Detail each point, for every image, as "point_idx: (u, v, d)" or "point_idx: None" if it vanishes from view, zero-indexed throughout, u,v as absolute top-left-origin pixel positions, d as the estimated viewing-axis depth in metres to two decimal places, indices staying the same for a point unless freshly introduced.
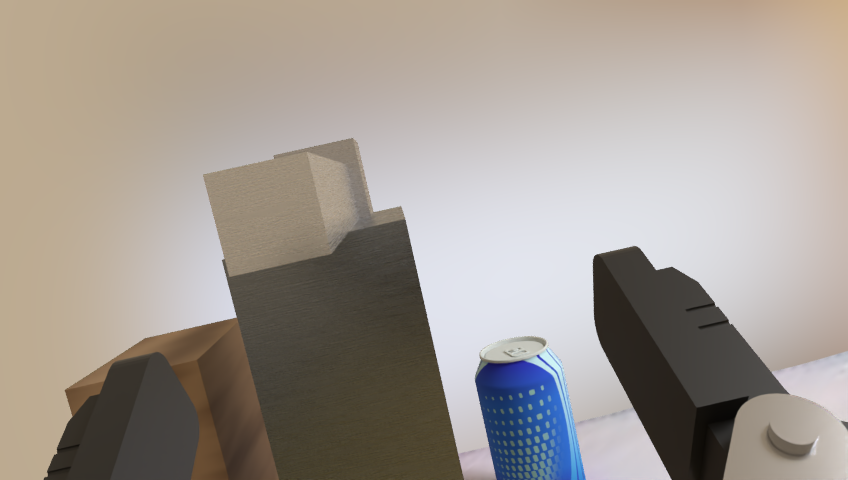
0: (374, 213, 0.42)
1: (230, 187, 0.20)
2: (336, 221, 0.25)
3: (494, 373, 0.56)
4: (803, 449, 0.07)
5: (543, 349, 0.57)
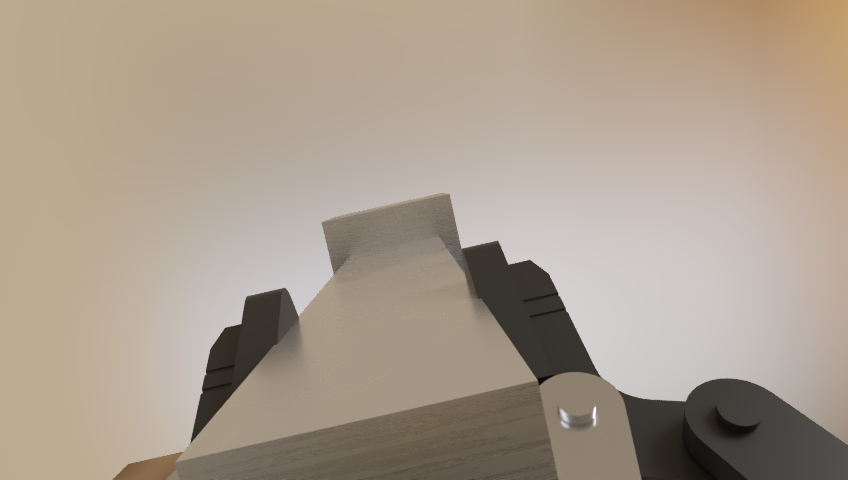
0: None
1: None
2: None
3: None
4: (580, 419, 0.08)
5: None
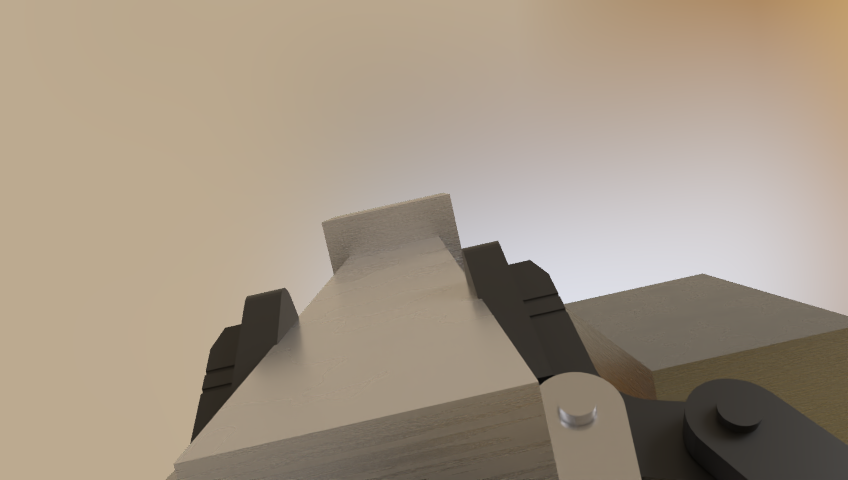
0: (687, 284, 0.37)
1: None
2: None
3: None
4: (580, 420, 0.08)
5: None
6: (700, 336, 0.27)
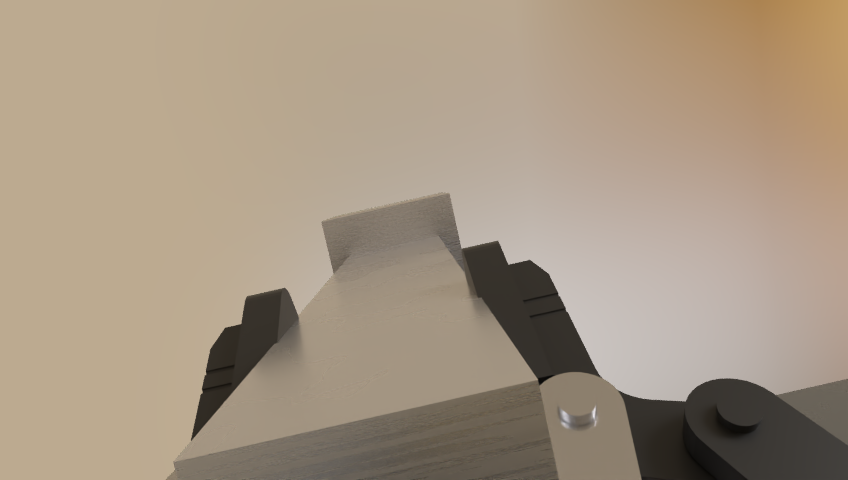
0: None
1: None
2: None
3: None
4: (580, 420, 0.08)
5: None
6: None
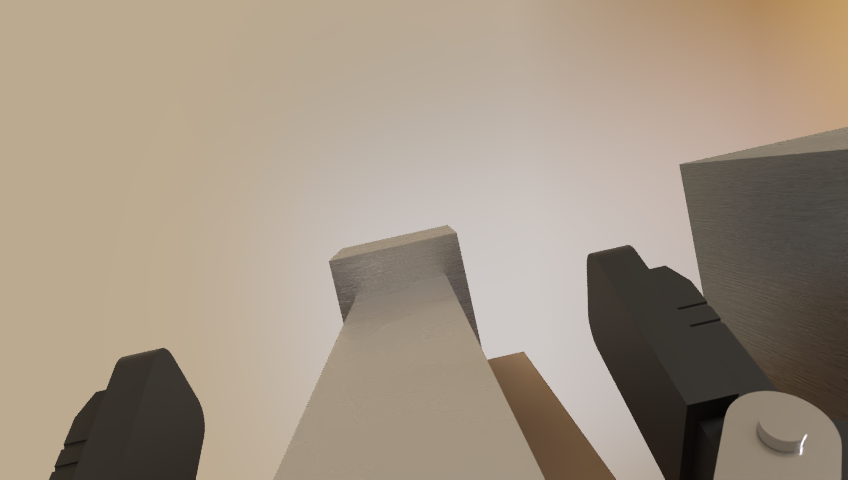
0: None
1: None
2: None
3: None
4: (792, 445, 0.07)
5: None
6: None
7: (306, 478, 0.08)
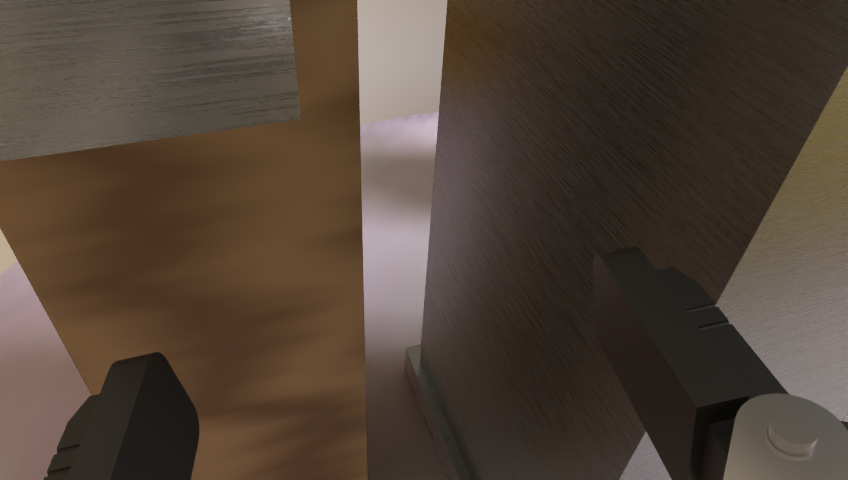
0: None
1: None
2: None
3: None
4: (803, 449, 0.07)
5: None
6: None
7: None
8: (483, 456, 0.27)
